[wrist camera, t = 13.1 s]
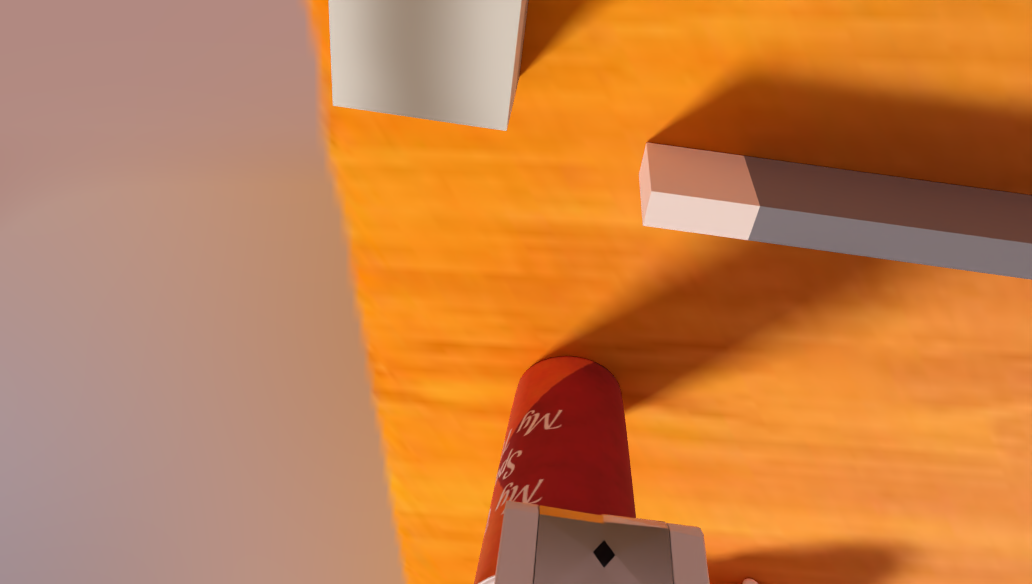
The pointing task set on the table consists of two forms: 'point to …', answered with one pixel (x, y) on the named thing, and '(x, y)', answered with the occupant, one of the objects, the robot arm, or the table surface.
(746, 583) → the white irregular piece
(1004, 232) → the walled channel
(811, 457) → the table surface
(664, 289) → the table surface
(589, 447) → the paper cup
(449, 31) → the beige block
